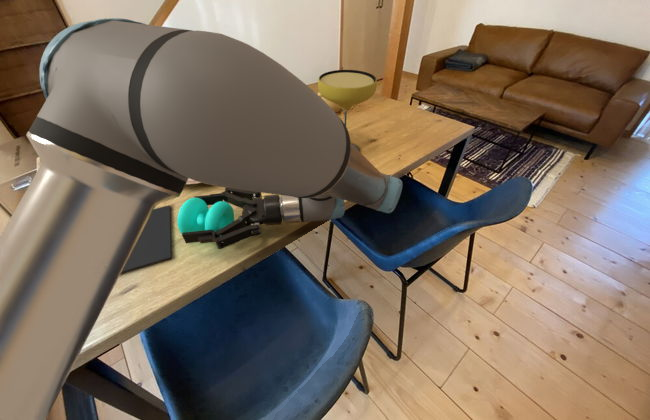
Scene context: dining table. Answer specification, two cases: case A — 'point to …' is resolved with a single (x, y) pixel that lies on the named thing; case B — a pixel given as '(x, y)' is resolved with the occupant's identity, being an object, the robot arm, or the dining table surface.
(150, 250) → the placemat
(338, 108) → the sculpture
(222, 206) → the donuts
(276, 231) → the dining table surface
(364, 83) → the cocktail glass
